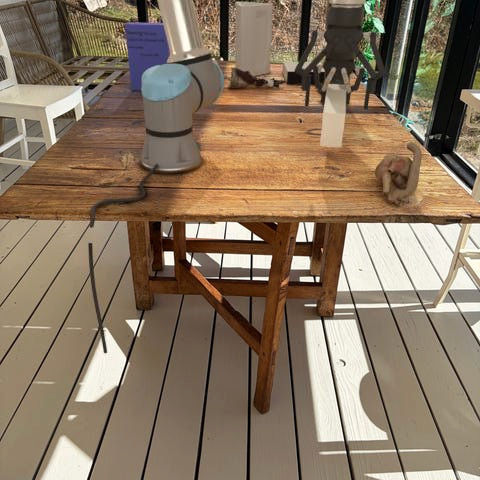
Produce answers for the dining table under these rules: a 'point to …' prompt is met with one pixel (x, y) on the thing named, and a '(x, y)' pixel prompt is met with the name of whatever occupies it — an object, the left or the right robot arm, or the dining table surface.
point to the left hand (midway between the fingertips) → (335, 106)
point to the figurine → (249, 80)
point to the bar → (333, 116)
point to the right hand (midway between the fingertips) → (334, 104)
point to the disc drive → (297, 78)
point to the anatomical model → (399, 174)
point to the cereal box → (145, 49)
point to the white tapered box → (253, 37)
